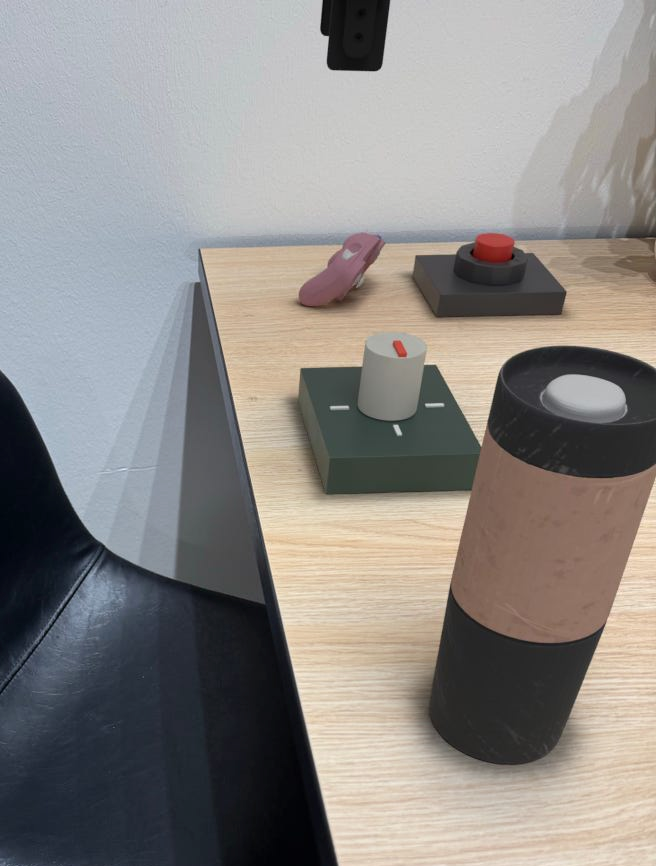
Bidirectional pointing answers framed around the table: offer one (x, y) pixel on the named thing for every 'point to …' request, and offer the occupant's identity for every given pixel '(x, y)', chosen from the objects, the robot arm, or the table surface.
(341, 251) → the pink rounded piece
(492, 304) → the button box
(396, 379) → the dial
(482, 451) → the travel mug
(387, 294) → the table surface
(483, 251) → the button
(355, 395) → the panel
